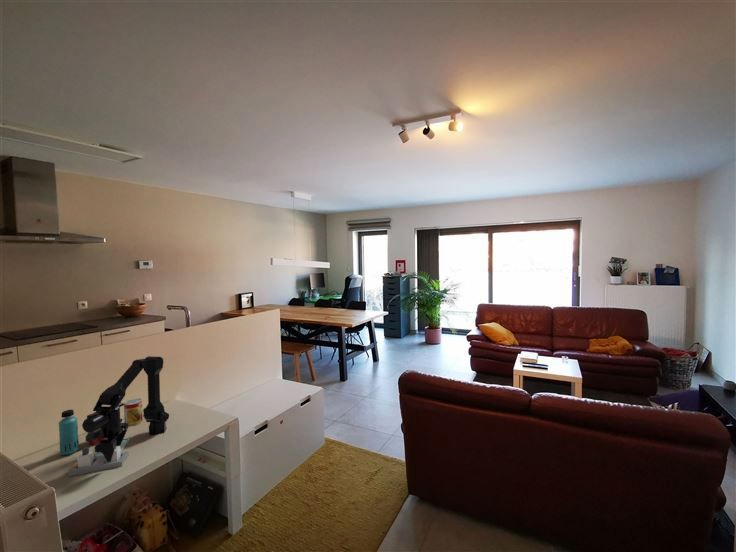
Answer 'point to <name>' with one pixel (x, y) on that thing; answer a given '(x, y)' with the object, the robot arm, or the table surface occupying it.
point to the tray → (120, 446)
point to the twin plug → (85, 458)
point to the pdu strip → (98, 465)
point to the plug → (116, 455)
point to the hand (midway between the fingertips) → (113, 455)
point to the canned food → (133, 412)
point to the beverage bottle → (68, 433)
